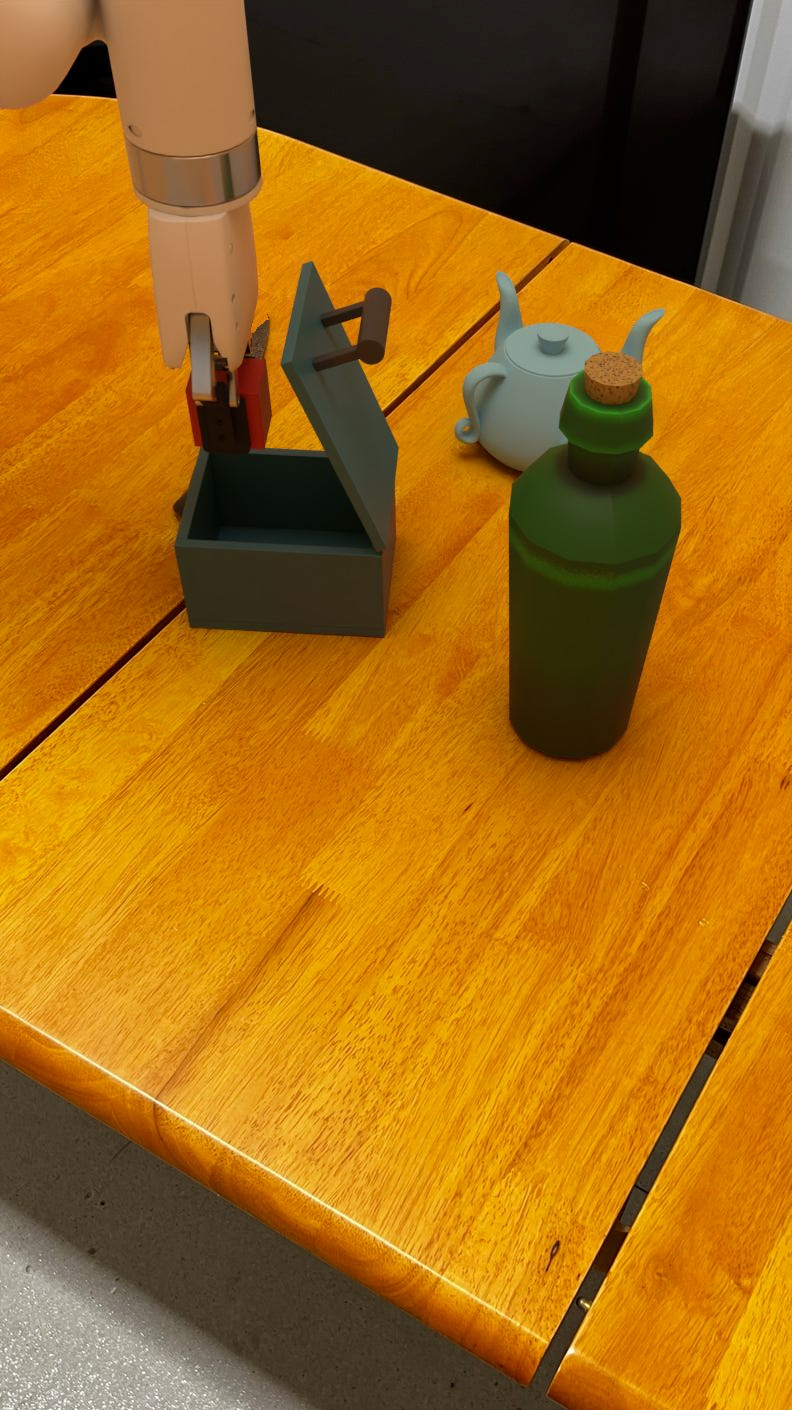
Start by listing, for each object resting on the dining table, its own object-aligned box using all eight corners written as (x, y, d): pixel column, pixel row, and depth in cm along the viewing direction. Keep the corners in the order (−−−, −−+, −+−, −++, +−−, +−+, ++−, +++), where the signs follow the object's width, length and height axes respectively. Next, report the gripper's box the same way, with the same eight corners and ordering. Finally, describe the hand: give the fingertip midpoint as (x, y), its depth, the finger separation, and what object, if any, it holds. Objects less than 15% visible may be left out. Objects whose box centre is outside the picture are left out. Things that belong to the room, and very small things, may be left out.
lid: (279, 364, 80) (363, 339, 79) (301, 263, 87) (379, 238, 85) (376, 552, 92) (452, 533, 90) (389, 450, 99) (459, 431, 97)
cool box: (189, 627, 98) (173, 545, 92) (213, 526, 105) (200, 443, 99) (384, 637, 98) (382, 556, 92) (396, 535, 105) (394, 454, 99)
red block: (194, 446, 90) (184, 390, 86) (204, 411, 92) (194, 355, 89) (264, 450, 90) (257, 393, 86) (272, 415, 92) (266, 358, 89)
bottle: (622, 658, 98) (682, 308, 75) (658, 766, 92) (735, 420, 69) (481, 672, 96) (499, 320, 74) (508, 782, 90) (536, 435, 68)
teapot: (431, 463, 111) (432, 354, 103) (496, 368, 119) (502, 260, 111) (595, 510, 108) (609, 401, 100) (650, 410, 116) (667, 302, 108)
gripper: (156, 90, 81) (198, 357, 96) (99, 231, 71) (156, 504, 86) (277, 96, 81) (301, 362, 96) (238, 237, 71) (271, 510, 86)
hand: (232, 427), depth 91 cm, fingers closed on red block, 4 cm apart
